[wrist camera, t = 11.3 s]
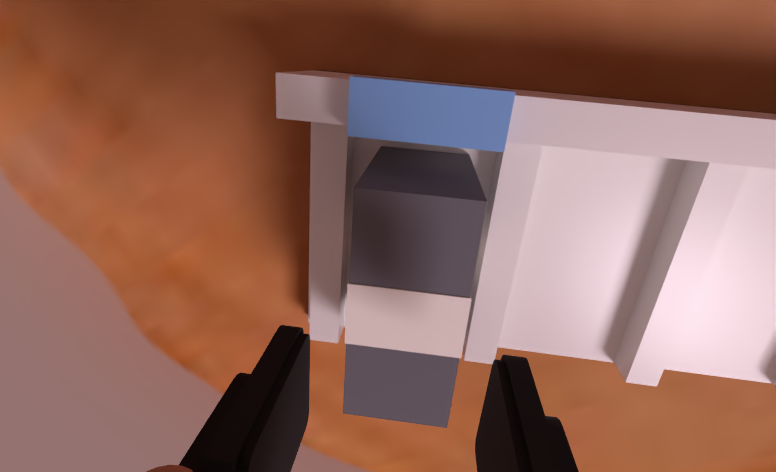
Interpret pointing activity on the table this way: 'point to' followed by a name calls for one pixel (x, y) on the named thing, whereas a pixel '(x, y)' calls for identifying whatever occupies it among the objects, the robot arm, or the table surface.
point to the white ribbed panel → (569, 218)
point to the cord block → (410, 283)
